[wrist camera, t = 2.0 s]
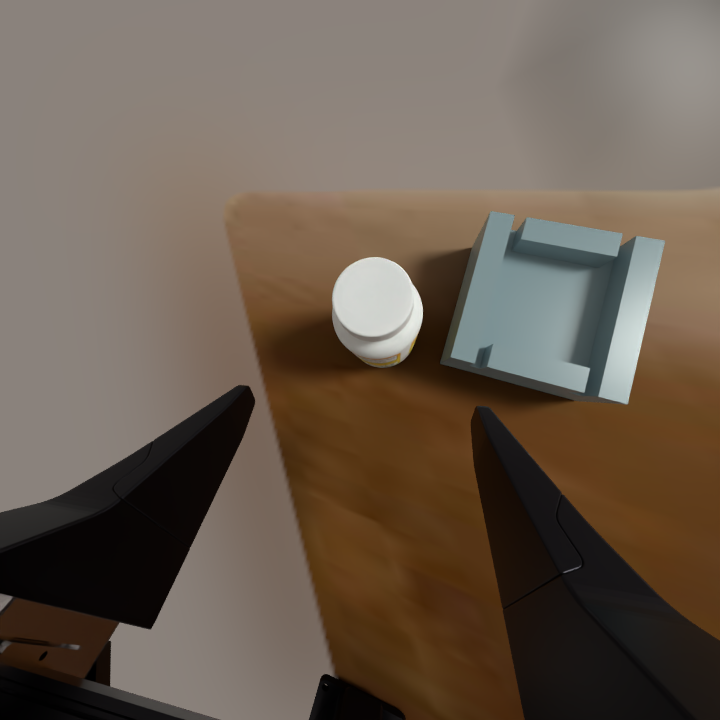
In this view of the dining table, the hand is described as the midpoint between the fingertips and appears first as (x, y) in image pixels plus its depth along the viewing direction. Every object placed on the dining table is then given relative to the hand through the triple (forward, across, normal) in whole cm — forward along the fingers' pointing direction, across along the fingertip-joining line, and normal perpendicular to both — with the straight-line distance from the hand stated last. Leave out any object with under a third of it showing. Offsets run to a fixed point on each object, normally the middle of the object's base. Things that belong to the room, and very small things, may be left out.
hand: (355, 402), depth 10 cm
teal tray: (+13, -11, +3) cm, 17 cm away
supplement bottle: (+12, 0, +5) cm, 13 cm away
